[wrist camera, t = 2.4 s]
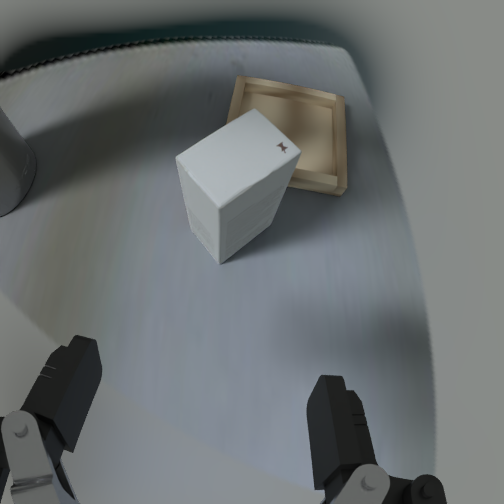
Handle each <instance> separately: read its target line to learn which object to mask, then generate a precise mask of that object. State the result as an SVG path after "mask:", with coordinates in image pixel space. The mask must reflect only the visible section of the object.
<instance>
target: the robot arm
mask: <svg viewBox="0 0 504 504" xmlns="http://www.w3.org/2000/svg"><path fill="white" fill-rule="evenodd" d="M35 170H36V158H35V155H34V153H33V151H32V150H31V148H30V147H29V146H28V144H27V143H26V142H25V141H24V139H23V138H22V137H21V135H20V134H19V132H18V131H17V130H16V128H15V127H14V125H13V124H12V123H11V121H10V120H9V119H8V117H7V116H6V114H5V113H4V112H3V110H2V109H1V107H0V216H3V215H5V214H7V213H8V212H10V211H11V210H12V209H14V208H15V207H16V206H17V205H18V204H19V203H20V202H21V200H22V199H23V198H24V196H25V195H26V193H27V192H28V190H29V188H30V186H31V184H32V182H33V179H34V175H35ZM101 377H102V365H101V360H100V356H99V351H98V346H97V342H96V340H95V339H91V338H87V337H83V336H79V335H75V336H74V337H73V339H72V340H71V342H70V344H69V346H68V347H65V346H62V345H61V346H60V347H59V348H58V349H56V350H55V351H54V352H53V353H52V354H51V355H50V357H49V358H48V360H47V362H46V364H45V367H43V369H42V371H41V372H40V376H38V378H37V380H36V381H35V383H34V385H33V387H32V389H31V391H30V393H29V395H28V397H27V398H26V400H25V402H24V404H23V406H22V407H21V409H20V410H18V411H13V412H11V413H9V414H8V415H7V416H6V417H0V503H1V499H2V495H3V492H4V488H5V485H6V482H7V478H8V475H9V472H10V471H11V475H12V478H13V486H11V496H12V499H13V502H14V504H80V503H79V501H78V499H77V497H76V494H75V492H74V490H73V487H72V485H71V483H70V480H69V478H68V475H67V473H66V470H65V468H64V465H63V462H62V459H61V455H62V452H63V450H67V451H69V452H72V453H73V452H74V449H75V446H76V443H77V440H78V437H79V435H80V432H81V429H82V427H83V424H84V422H85V419H86V416H87V414H88V411H89V408H90V406H91V403H92V401H93V398H94V396H95V394H96V391H97V389H98V386H99V384H100V381H101ZM364 415H365V413H364V409H363V405H362V401H361V400H360V399H359V397H358V396H357V394H356V393H355V392H354V391H352V390H346V386H345V382H344V379H343V377H342V376H333V375H321V376H320V377H319V379H318V381H317V383H316V385H315V387H314V389H313V391H312V393H311V395H310V397H309V399H308V403H307V422H308V431H309V440H310V449H311V458H312V468H313V478H314V488H315V490H325V498H324V499H323V500H322V501H321V503H320V504H447V502H446V497H445V493H444V489H443V485H442V483H441V482H440V480H439V479H438V478H436V477H435V476H433V475H428V474H426V475H421V476H419V477H417V478H416V479H415V480H408V479H402V478H396V477H392V476H390V475H388V474H387V473H386V471H385V470H384V469H383V468H381V467H379V466H378V464H377V462H376V459H375V454H374V450H373V446H372V441H371V437H370V433H369V429H368V426H367V421H366V417H365V416H364Z"/></svg>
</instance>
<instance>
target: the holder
mask: <svg viewBox="0 0 504 504" xmlns="http://www.w3.org/2000/svg"><path fill="white" fill-rule="evenodd" d="M252 109H256V110H258V111H259V112H260V113H261V114H262V115H264V116H265V117H266V118H267V119H268V120H269V121H270V122H271V123H272V124H273V125H275V126H276V127H277V128H278V129H279V130H280V131H281V132H282V133H283V134H284V135H285V136H286V137H287V138H288V139H289V140H290V141H292V142H293V143H294V144H295V145H296V146H297V147H298V148H299V149H300V150H301V151H302V153H301V155H300V158H299V160H298V163H297V165H296V168H295V170H294V172H293V174H292V177H291V179H290V181H289V184H288V187H293V188H299V189H304V190H309V191H314V192H320V193H325V194H330V195H334V196H339V197H340V196H341V195H342V194H343V193H344V191H345V190H346V189H347V146H346V120H345V102H344V97H343V96H339V95H335V94H331V93H327V92H323V91H319V90H315V89H310V88H306V87H301V86H296V85H292V84H287V83H281V82H276V81H271V80H265V79H259V78H253V77H246V76H239V75H237V79H236V84H235V88H234V92H233V96H232V100H231V105H230V109H229V113H228V118H227V122H226V124H228V123H230V122H231V121H233V120H235V119H237V118H238V117H240V116H242V115H243V114H245V113H247V112H249V111H250V110H252Z"/></svg>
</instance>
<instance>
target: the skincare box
mask: <svg viewBox="0 0 504 504" xmlns="http://www.w3.org/2000/svg"><path fill="white" fill-rule="evenodd" d="M301 153H302V151H301V150H300V149H299V148H298V147H297V146H296V145H295V144H294V143H293V142H292V141H290V140H289V139H288V138H287V137H286V136H285V135H284V134H283V133H282V132H281V131H280V130H279V129H278V128H277V127H276V126H275V125H273V124H272V123H271V122H270V121H269V120H268V119H267V118H266V117H265V116H264V115H262V114H261V113H260V112H259V111H258V110H256V109H252V110H250V111H249V112H247V113H245V114H243V115H242V116H240V117H238V118H237V119H235V120H233V121H231V122H230V123H228V124H226V125H225V126H223V127H222V128H220V129H218V130H217V131H215V132H214V133H212V134H210V135H209V136H207V137H206V138H204V139H202V140H201V141H199V142H198V143H196V144H195V145H193V146H192V147H190V148H189V149H187V150H185V151H184V152H182V153H181V154H179V155H177V156H176V163H177V168H178V173H179V178H180V183H181V187H182V192H183V196H184V201H185V205H186V210H187V215H188V219H189V223H190V228H191V231H192V232H193V233H194V234H195V235H196V237H197V238H198V239H199V240H200V242H201V243H202V244H203V245H204V247H205V248H206V249H207V250H208V252H209V253H210V254H211V255H212V257H213V258H214V259H215V260H216V261H217V263H218V264H222V263H223V262H224V261H225V260H227V259H228V258H229V257H230V256H232V255H233V254H234V253H236V252H237V251H238V250H239V249H241V248H242V247H243V246H244V245H246V244H247V243H248V242H250V241H251V240H252V239H253V238H255V237H256V236H257V235H258V234H260V233H261V232H262V231H263V230H265V229H266V228H267V227H269V226H270V225H271V223H272V221H273V219H274V216H275V214H276V212H277V209H278V207H279V205H280V202H281V200H282V197H283V195H284V193H285V191H286V188H287V186H288V184H289V181H290V179H291V177H292V174H293V172H294V170H295V168H296V165H297V163H298V160H299V158H300V155H301Z"/></svg>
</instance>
